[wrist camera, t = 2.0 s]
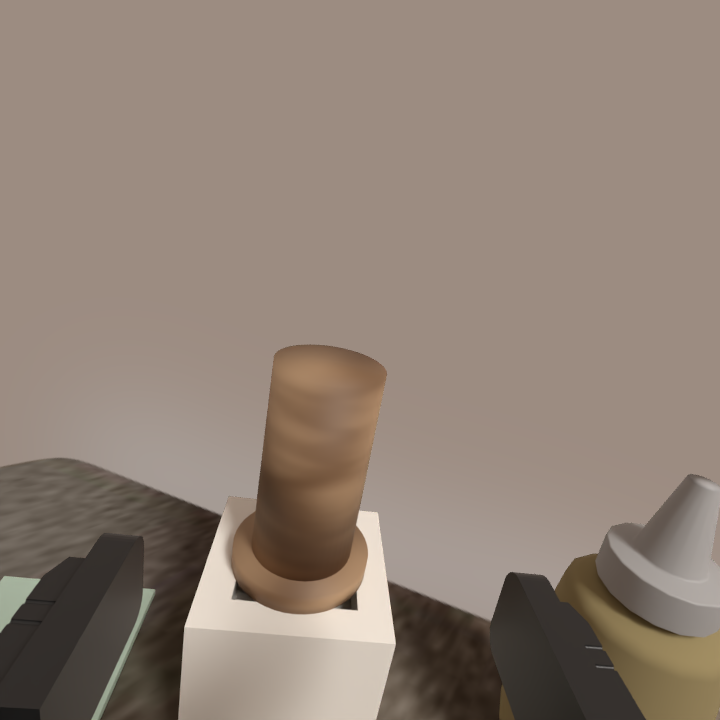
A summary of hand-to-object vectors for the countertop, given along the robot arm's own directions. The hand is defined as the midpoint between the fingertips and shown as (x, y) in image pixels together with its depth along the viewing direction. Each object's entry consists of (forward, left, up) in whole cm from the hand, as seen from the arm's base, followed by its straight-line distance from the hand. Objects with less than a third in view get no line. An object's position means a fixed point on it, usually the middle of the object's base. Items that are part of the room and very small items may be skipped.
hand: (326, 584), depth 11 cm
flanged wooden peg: (0, +12, -11) cm, 16 cm away
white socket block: (0, +12, -18) cm, 21 cm away
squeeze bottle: (+14, +7, -18) cm, 24 cm away
